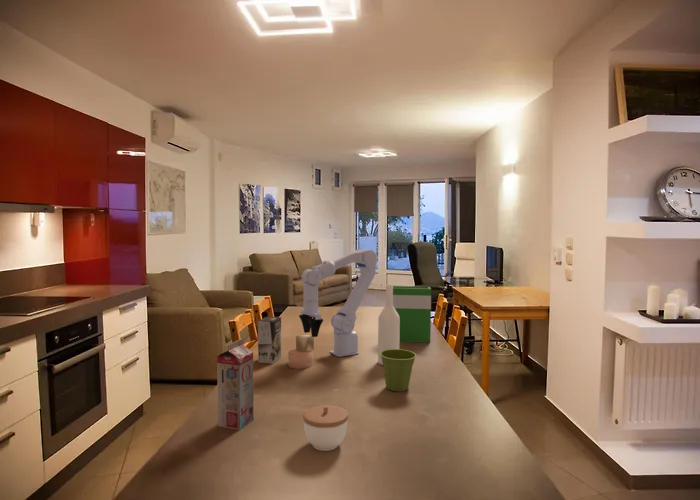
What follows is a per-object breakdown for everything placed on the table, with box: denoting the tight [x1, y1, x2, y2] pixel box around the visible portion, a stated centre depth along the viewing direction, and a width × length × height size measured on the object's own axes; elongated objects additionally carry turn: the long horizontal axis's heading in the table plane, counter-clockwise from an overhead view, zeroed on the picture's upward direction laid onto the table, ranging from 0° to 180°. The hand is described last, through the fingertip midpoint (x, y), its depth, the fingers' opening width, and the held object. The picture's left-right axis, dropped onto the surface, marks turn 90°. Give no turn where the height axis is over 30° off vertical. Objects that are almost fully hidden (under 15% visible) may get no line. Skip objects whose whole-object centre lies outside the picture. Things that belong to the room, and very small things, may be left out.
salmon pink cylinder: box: [287, 348, 314, 370], centre depth 174 cm, size 9×9×5 cm
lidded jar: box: [302, 404, 349, 452], centre depth 112 cm, size 11×11×9 cm
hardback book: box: [393, 285, 432, 343], centre depth 212 cm, size 18×7×24 cm, turn 85°
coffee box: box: [257, 316, 282, 365], centre depth 180 cm, size 9×6×16 cm
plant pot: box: [380, 348, 418, 392], centre depth 150 cm, size 12×12×11 cm
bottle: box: [377, 283, 400, 366], centre depth 176 cm, size 8×8×30 cm
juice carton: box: [216, 338, 255, 431], centre depth 123 cm, size 7×7×22 cm
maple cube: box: [295, 334, 315, 352], centre depth 177 cm, size 5×5×5 cm
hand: (310, 334), depth 182 cm, fingers open, 7 cm apart
